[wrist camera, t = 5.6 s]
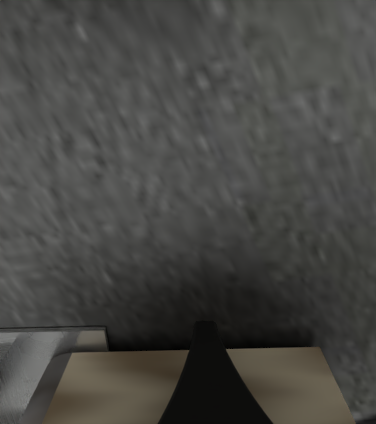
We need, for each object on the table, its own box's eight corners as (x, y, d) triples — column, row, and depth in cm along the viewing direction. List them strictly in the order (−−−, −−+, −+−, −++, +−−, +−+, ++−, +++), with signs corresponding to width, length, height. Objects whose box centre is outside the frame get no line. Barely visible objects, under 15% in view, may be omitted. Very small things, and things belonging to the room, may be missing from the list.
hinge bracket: (105, 326, 15) (71, 425, 10) (118, 403, 16) (94, 511, 12) (-26, 329, 15) (-111, 427, 11) (2, 405, 17) (-60, 513, 12)
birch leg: (52, 399, 16) (10, 499, 12) (39, 353, 15) (-13, 447, 11) (311, 394, 15) (350, 494, 12) (319, 346, 14) (364, 441, 11)
